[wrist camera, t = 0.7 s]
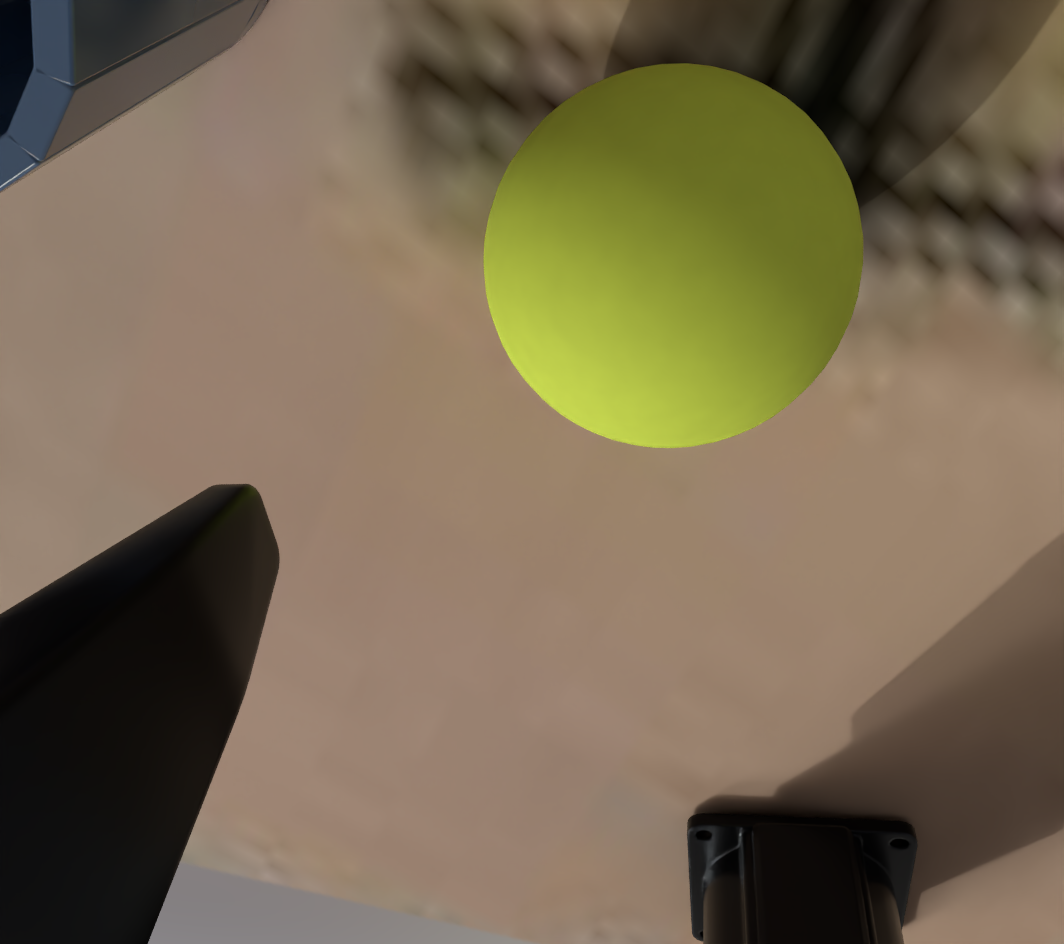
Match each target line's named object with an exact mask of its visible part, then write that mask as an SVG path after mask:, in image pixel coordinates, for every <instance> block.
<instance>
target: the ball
mask: <svg viewBox="0 0 1064 944" xmlns="http://www.w3.org/2000/svg"><path fill="white" fill-rule="evenodd" d="M862 266H863V234H862V227H861V220H860V213H859V208H858V203H857V200H856V197H855V193H854V190H853V186H852V183H851V180H850V178H849V176H848V174H847V172H846V170H845V168H844V165H843V163H842V161H841V159H840V157H839V156H838V154H837V153H836V151H835V150H834V148H833V147H832V145H831V144H830V142H829V141H828V139H827V138H826V136H825V135H824V133H823V132H822V131H821V130H820V128H819V127H818V126H817V125H816V124H815V123H814V122H813V121H812V120H811V119H810V117H809V116H808V115H807V114H806V113H805V112H804V111H802V110H801V109H800V108H799V107H797V106H796V105H795V104H794V103H793V102H791V101H790V100H789V99H788V98H786V97H785V96H783V95H782V94H780V93H778V92H777V91H775V90H773V89H772V88H770V87H768V86H766V85H765V84H763V83H761V82H759V81H756V80H754V79H751V78H749V77H746V76H744V75H742V74H739V73H737V72H733V71H729V70H725V69H721V68H718V67H714V66H707V65H698V64H689V63H679V64H658V65H652V66H646V67H640V68H635V69H632V70H629V71H626V72H622V73H619V74H616V75H613V76H610V77H608V78H606V79H604V80H602V81H600V82H597V83H595V84H593V85H591V86H589V87H587V88H585V89H583V90H582V91H580V92H579V93H577V94H575V95H574V96H572V97H571V98H569V99H568V100H566V101H564V102H563V103H562V104H561V105H560V106H558V107H557V108H556V109H555V110H554V111H552V112H551V113H550V114H549V115H548V116H547V117H545V118H544V119H543V120H542V122H541V123H540V124H539V125H538V126H537V127H536V128H535V129H534V130H533V132H532V133H531V134H530V135H529V136H528V137H527V139H526V140H525V142H524V143H523V145H522V146H521V147H520V149H519V150H518V152H517V153H516V155H515V156H514V158H513V159H512V161H511V162H510V164H509V166H508V168H507V170H506V172H505V174H504V176H503V178H502V180H501V182H500V184H499V186H498V189H497V192H496V195H495V198H494V201H493V204H492V207H491V211H490V214H489V219H488V224H487V230H486V235H485V242H484V276H485V287H486V296H487V300H488V304H489V309H490V313H491V316H492V319H493V322H494V324H495V327H496V330H497V332H498V335H499V337H500V340H501V342H502V345H503V347H504V348H505V350H506V352H507V354H508V356H509V358H510V360H511V361H512V363H513V364H514V366H515V367H516V369H517V370H518V371H519V373H520V374H521V375H522V377H523V378H524V380H525V381H526V382H527V383H528V384H529V385H530V386H531V387H532V388H533V389H534V390H535V392H536V393H537V394H538V395H539V396H540V397H541V398H542V399H543V400H544V401H545V402H546V403H548V404H549V405H550V406H551V407H552V408H554V409H555V410H556V411H557V412H558V413H560V414H561V415H563V416H564V417H566V418H568V419H569V420H571V421H572V422H574V423H575V424H577V425H579V426H581V427H583V428H585V429H587V430H589V431H591V432H593V433H596V434H599V435H601V436H604V437H607V438H609V439H612V440H616V441H620V442H624V443H628V444H632V445H638V446H645V447H653V448H679V447H691V446H697V445H702V444H707V443H712V442H716V441H720V440H723V439H726V438H729V437H733V436H736V435H738V434H740V433H743V432H745V431H747V430H750V429H752V428H754V427H756V426H758V425H759V424H761V423H763V422H765V421H766V420H768V419H770V418H772V417H773V416H774V415H776V414H777V413H778V412H780V411H781V410H783V409H784V408H785V407H787V406H788V405H789V404H790V403H791V402H792V401H794V400H795V399H796V398H797V397H798V396H799V395H800V394H801V393H802V392H803V391H804V390H805V389H806V388H807V387H808V386H809V385H811V383H812V382H813V381H814V380H815V379H816V377H817V376H818V375H819V374H820V373H821V371H822V370H823V369H824V368H825V366H826V365H827V363H828V362H829V360H830V358H831V357H832V355H833V354H834V352H835V351H836V349H837V347H838V345H839V343H840V341H841V339H842V337H843V335H844V333H845V331H846V328H847V326H848V324H849V322H850V320H851V317H852V314H853V311H854V307H855V304H856V301H857V297H858V292H859V285H860V279H861V272H862Z"/></svg>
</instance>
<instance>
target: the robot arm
mask: <svg viewBox="0 0 1064 944" xmlns="http://www.w3.org/2000/svg"><path fill="white" fill-rule="evenodd" d="M278 569H279V549H278V545H277V542H276V539H275V536H274V533H273V530H272V527H271V524H270V521H269V519H268V516H267V513H266V510H265V507H264V504H263V501H262V498H261V496H260V494H259V492H258V491H257V489H256V488H254V487H253V486H251V485H249V484H221V485H214V486H211V487H209V488H207V489H206V490H204V491H203V492H201V493H199V494H198V495H196V496H194V497H193V498H191V499H189V500H188V501H186V502H184V503H183V504H181V505H179V506H178V507H176V508H175V509H173V510H171V511H170V512H168V513H166V514H165V515H163V516H161V517H160V518H158V519H156V520H155V521H153V522H151V523H150V524H148V525H146V526H145V527H143V528H142V529H140V530H138V531H137V532H135V533H133V534H132V535H130V536H128V537H127V538H125V539H123V540H122V541H120V542H118V543H117V544H115V545H114V546H112V547H110V548H109V549H107V550H105V551H104V552H102V553H100V554H99V555H97V556H95V557H94V558H92V559H90V560H89V561H87V562H86V563H84V564H82V565H81V566H79V567H77V568H76V569H74V570H72V571H71V572H69V573H67V574H66V575H64V576H62V577H61V578H59V579H58V580H56V581H54V582H53V583H51V584H49V585H48V586H46V587H44V588H43V589H41V590H39V591H38V592H36V593H34V594H33V595H31V596H30V597H28V598H26V599H25V600H23V601H21V602H20V603H18V604H16V605H15V606H13V607H11V608H10V609H8V610H6V611H5V612H3V613H2V614H0V944H148V941H149V939H150V936H151V934H152V931H153V929H154V926H155V923H156V921H157V918H158V916H159V913H160V911H161V908H162V906H163V903H164V901H165V898H166V895H167V893H168V890H169V888H170V885H171V883H172V880H173V877H174V875H175V873H176V870H177V868H178V865H179V862H180V860H181V857H182V855H183V852H184V850H185V847H186V845H187V842H188V840H189V837H190V834H191V832H192V829H193V827H194V824H195V822H196V819H197V817H198V814H199V812H200V809H201V806H202V804H203V801H204V799H205V796H206V794H207V791H208V789H209V786H210V784H211V781H212V778H213V776H214V773H215V771H216V768H217V766H218V763H219V761H220V758H221V756H222V753H223V750H224V748H225V745H226V743H227V740H228V738H229V735H230V733H231V730H232V728H233V725H234V723H235V720H236V717H237V715H238V712H239V709H240V706H241V704H242V701H243V698H244V695H245V692H246V688H247V685H248V682H249V679H250V675H251V671H252V668H253V664H254V660H255V656H256V653H257V649H258V645H259V641H260V638H261V634H262V630H263V626H264V623H265V619H266V615H267V611H268V607H269V604H270V600H271V596H272V592H273V589H274V585H275V581H276V577H277V574H278ZM687 838H688V859H689V879H690V899H691V920H692V934H693V936H694V937H695V938H696V939H697V940H700V941H703V944H904V941H903V935H902V927H903V921H904V916H905V911H906V905H907V900H908V894H909V889H910V883H911V878H912V873H913V867H914V862H915V856H916V851H917V846H918V844H917V838H916V834H915V829H914V827H913V826H912V825H910V824H908V823H906V822H901V821H882V820H856V819H831V818H806V817H780V816H755V815H730V814H705V813H704V814H696V815H693V816H691V817H690V818H689V819H688V822H687Z"/></svg>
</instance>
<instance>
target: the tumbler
mask: <svg viewBox="0 0 1064 944" xmlns="http://www.w3.org/2000/svg"><path fill="white" fill-rule="evenodd" d="M267 1H268V0H0V193H1V192H3V191H5V190H6V189H8V188H9V187H11V186H13V185H14V184H16V183H17V182H19V181H21V180H22V179H24V178H25V177H27V176H29V175H30V174H32V173H33V172H35V171H37V170H38V169H40V168H42V167H43V166H45V165H46V164H48V163H50V162H51V161H53V160H54V159H56V158H58V157H59V156H61V155H62V154H64V153H66V152H67V151H69V150H70V149H72V148H74V147H75V146H77V145H78V144H80V143H82V142H83V141H85V140H86V139H88V138H90V137H91V136H93V135H94V134H96V133H98V132H99V131H101V130H103V129H104V128H106V127H107V126H109V125H111V124H112V123H114V122H115V121H117V120H119V119H120V118H122V117H123V116H125V115H127V114H128V113H130V112H131V111H133V110H135V109H136V108H138V107H139V106H141V105H143V104H144V103H146V102H147V101H149V100H151V99H152V98H154V97H155V96H157V95H159V94H160V93H162V92H164V91H165V90H167V89H168V88H170V87H172V86H173V85H175V84H176V83H178V82H180V81H181V80H183V79H184V78H186V77H188V76H189V75H191V74H192V73H194V72H195V71H197V70H198V69H200V68H201V67H203V66H204V65H206V64H207V63H209V62H210V61H212V60H213V59H215V58H216V57H218V56H220V55H221V54H223V53H225V52H226V51H227V50H228V49H230V48H231V47H232V46H234V45H235V44H236V43H237V42H238V41H240V40H241V38H242V37H243V36H244V35H245V34H246V33H247V32H248V31H249V30H250V28H251V27H252V26H253V25H254V23H255V22H256V20H257V19H258V17H259V15H260V14H261V12H262V11H263V9H264V7H265V5H266V3H267Z"/></svg>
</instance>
